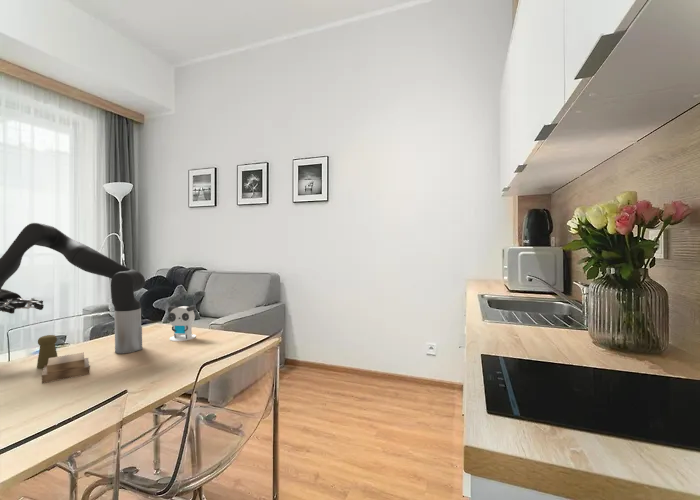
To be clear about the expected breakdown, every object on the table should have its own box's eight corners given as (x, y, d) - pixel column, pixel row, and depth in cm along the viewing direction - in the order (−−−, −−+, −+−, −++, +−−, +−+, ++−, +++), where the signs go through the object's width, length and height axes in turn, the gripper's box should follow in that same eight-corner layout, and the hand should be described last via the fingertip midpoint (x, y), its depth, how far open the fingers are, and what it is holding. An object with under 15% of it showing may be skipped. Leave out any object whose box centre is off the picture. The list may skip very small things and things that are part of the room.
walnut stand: (88, 364, 124) (88, 350, 124) (89, 374, 115) (89, 359, 115) (44, 372, 116) (44, 357, 116) (41, 383, 107) (41, 367, 107)
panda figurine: (162, 340, 154) (161, 308, 154) (178, 334, 165) (178, 303, 165) (186, 341, 152) (185, 309, 152) (200, 335, 164) (200, 304, 163)
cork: (45, 369, 119) (44, 338, 119) (32, 367, 121) (31, 337, 120) (63, 363, 125) (62, 334, 125) (50, 362, 127) (49, 333, 126)
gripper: (-22, 292, 124) (4, 301, 118) (27, 288, 137) (51, 296, 132) (-24, 312, 124) (1, 322, 119) (25, 306, 138) (49, 315, 132)
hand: (28, 309), depth 125 cm, fingers open, 8 cm apart
